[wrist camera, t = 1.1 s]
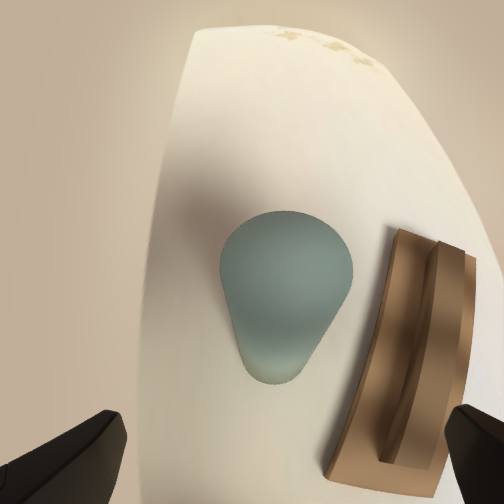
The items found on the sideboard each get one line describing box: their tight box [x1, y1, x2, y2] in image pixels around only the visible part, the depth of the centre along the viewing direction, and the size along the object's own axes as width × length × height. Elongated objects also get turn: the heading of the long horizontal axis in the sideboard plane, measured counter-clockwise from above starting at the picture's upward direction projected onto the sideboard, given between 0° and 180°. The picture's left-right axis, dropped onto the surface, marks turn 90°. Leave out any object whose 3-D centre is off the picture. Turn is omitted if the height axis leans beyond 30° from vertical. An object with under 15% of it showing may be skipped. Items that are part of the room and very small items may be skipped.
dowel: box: [220, 211, 353, 385], centre depth 16 cm, size 4×4×12 cm
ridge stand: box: [324, 228, 476, 498], centre depth 19 cm, size 20×8×4 cm, turn 157°
